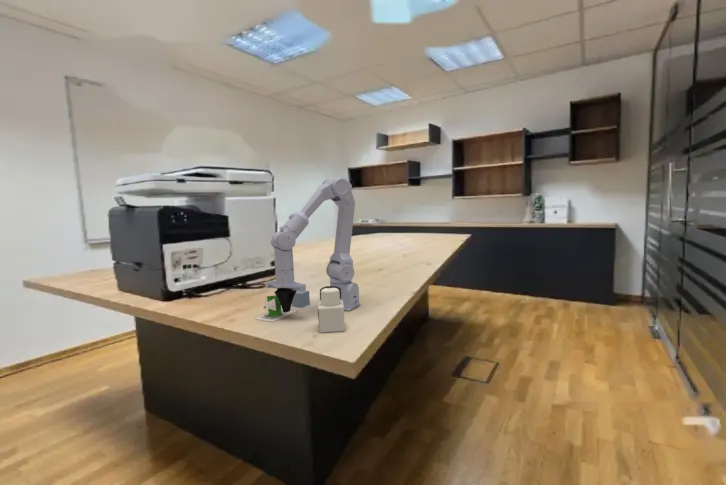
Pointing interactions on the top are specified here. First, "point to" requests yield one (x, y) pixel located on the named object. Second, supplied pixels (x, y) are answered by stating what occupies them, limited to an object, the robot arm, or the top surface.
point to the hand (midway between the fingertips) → (286, 311)
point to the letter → (274, 318)
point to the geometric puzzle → (273, 306)
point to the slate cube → (301, 299)
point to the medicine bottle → (331, 310)
